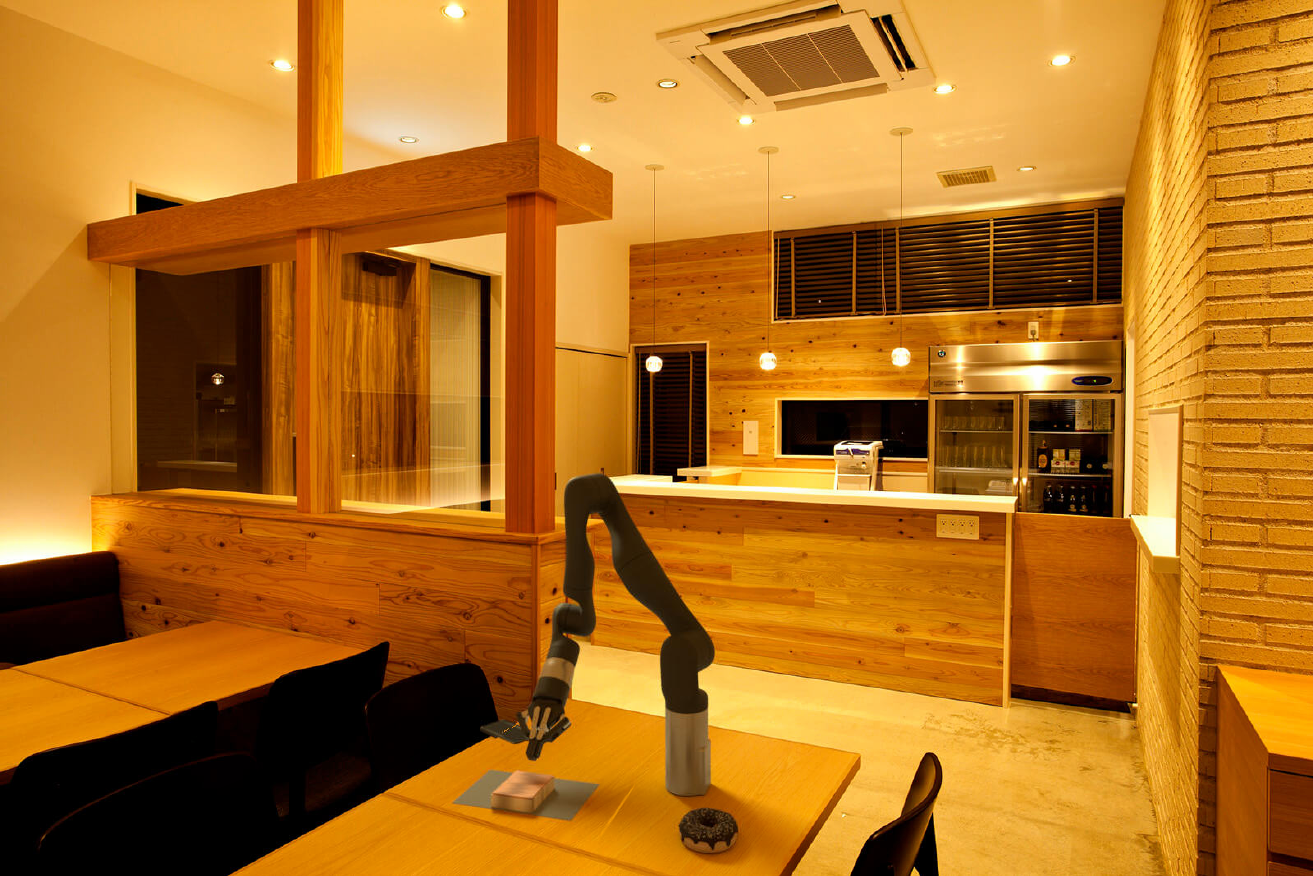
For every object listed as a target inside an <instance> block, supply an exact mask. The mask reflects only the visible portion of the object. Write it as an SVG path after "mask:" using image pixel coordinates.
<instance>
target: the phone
mask: <svg viewBox="0 0 1313 876" xmlns="http://www.w3.org/2000/svg"><path fill="white" fill-rule="evenodd" d="M515 725H516V723H514V722H512V721H510V720H509V719H500V720H497V721H493V722H491V723H488V724H485V725H482V726H480V732H482V733H484V734H486V735H488V736H491V737H492V738H495V739H498V738H499V739H501V740H504V741H506V742H509V743H511V744H513V745H515V744H520V743H524V742H529V740H527V739H526V737H525V736H524V735H523V732H522V730H521V727H520V725H519V724H517V725H516V726H515ZM513 726H515V727H513ZM512 727H513V728H512ZM508 728H509V729H508ZM507 729H508V730H507ZM504 730H507V731H505V732H504ZM529 731H530V732H531V729H529ZM502 732H503V733H502Z"/></svg>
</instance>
